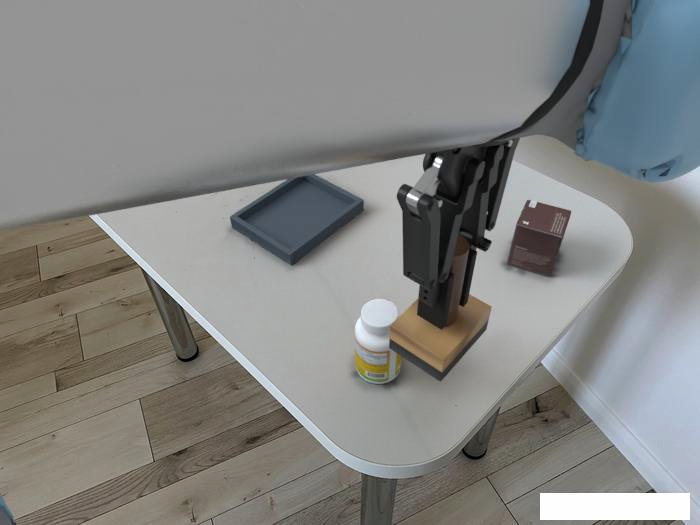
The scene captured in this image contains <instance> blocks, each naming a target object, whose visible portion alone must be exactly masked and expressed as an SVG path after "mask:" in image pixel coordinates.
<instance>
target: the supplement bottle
mask: <svg viewBox="0 0 700 525" xmlns="http://www.w3.org/2000/svg"><path fill="white" fill-rule="evenodd" d="M399 316H400V315H399V309H398V307H397V306H396V304H395V303H393V302H392V301H390V300H388V299H384V298H375V299H370V300H369V301H367V302H365V304H363V305H362V308H361V311H360V317H359V318H358V319H357V320H356V323H355V325H354V363H355V370H356V371H357V373H358V375H359V376H360V378H362V379H363V380H365V381H366V382H368V383H371V384H376V385H382V384H387V383H390V382H391V381H394V379H396V378H397V377H398V376H399V374H400V371H401V369H402V363H403V362H402V361H403V357H402V356H400V355H399V354H397V353H396V352H394V351H393V350H391V349H390V348H389V339H390V325H391V324H392V323H393V322H394V321H395V320H396V319H397V318H398V317H399Z"/></svg>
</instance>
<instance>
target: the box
mask: <svg viewBox="0 0 700 525" xmlns="http://www.w3.org/2000/svg"><path fill="white" fill-rule="evenodd" d="M571 215H572V210H570V209H567V208H564V207H559V206H554V205H550V204H547V203H543V202H539V201H536V200H531V199H527V200H526V201H525V203H524V206H523V207H522V209H521V211H520V215H519V217H518V219H517V222H516V224H515V227H514V228H515V229H514V232H513V235H512V236H513V237H512V240H511V244H510V248H509V253H508V256H507V260H506V264H507V265H509V266H512V267H515V268H518V269H523V270H526V271H529V272H533V273H535V274H539V275H542V276H546V277H550V276H551V275H552V274H553V269H554V267H555V265H556V261H557V258H558V255H559V253H560V249H561V247H562V246H561V245H562V243H563V240H564V237H565V233H566V230H567V228H568V225H569V222H570V219H571Z"/></svg>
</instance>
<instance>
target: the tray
mask: <svg viewBox="0 0 700 525" xmlns="http://www.w3.org/2000/svg"><path fill="white" fill-rule="evenodd" d="M364 201H365V200H364V199H363V198H360V197H359V196H357V195H355V194H354V193H351V192H349V191H348V190H345V189H344V188H342V187H340V186H338V185H336V184H334V183H332V182H330V181H328V180H326V179H324V178H322V177H321V176H319V175H318V174H313V175H308V176H302V177H297V178H292V179H286V180H283V182H281V183H280V184H278V185H276V186H275V187H273V188H272V189H270V190H269V191H267V192H266V193H264V194H262V195H261V196H260V197H258V198H256V199H255V200H253V201H251V202H250V203H249V204H247V205H246V206H243V207H242V208H241V209H239V210H237V211H235V212H234V213H233V214H231V215H230V216H229V219H230V220H229V221H230V224H231V228H232V229H233V230H235V231H237V232H239V233H240V234H242V235H244V236H245V237H246V238H247V239H250V240H251V241H252V242H254V243H256V244H257V245H259V246H260V247H262V248H264V249H265V250H266V251H268V252H270V253H271V254H273V255H274V256H275V257H278V258H279V259H281V260H282V261H283V262H285V263H287V264H288V265H290V266H293V265H294V264H295V263H297V262H298V261H299V260H301V259H302V258H304V256H306V255H307V254H308V253H310V252H311V251H312V250H314V249H315V248H316V247H317V246H319V245H320V244H322V243H323V242H325V241H326V240H327V239H328V238H329V237H331V236H332V235H333V234H335V233H336V232H338V231H339V230H340V229H341V228H343V227H344V226H345V225H346V224H348V223H350V222H351V221H352V220H353V219H354V218H356V217H357V216H358V215H360V214H361V213H362V212H364V206H365V205H364V204H365V203H364Z"/></svg>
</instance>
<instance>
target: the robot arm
mask: <svg viewBox="0 0 700 525" xmlns="http://www.w3.org/2000/svg"><path fill="white" fill-rule="evenodd" d="M538 135H541V136H546V137H549V138H553V139H555V140H558V141H559V142H561V143H562V144H564V145H565V146H566V147H568V148H570V149H571V150H573V151H574V154H575V155H576V156H577V157H580V158H581V159H582V160H583V161H585V162H592V161H593V162H594V161H595V162H597V163H599V164H601V165H603V166H606V167H607V168H610V169H612V170H614V171H616V172H619V173H621V174H623V175H625V176H628V177H630V178H631V179H634V180H638V181H641V182H647V183H652V184H653V183H654V184H656V183H665V182H669V181H673V180H675V179H678V178H681V177H683V176H685V175H688V174H689V173H691V172H692V171H694V170H696V169H697V168H699V167H700V0H0V233H2V232H8V231H14V230H19V229H25V228H31V227H35V226H41V225H47V224H52V223H58V222H64V221H69V220H74V219H78V218H84V217H85V218H86V217H91V216H95V215H101V214H107V213H111V212H118V211H123V210H128V209H134V208H140V207H145V206H149V205H155V204H160V203H166V202H172V201H177V200H182V199H188V198H192V197H198V196H205V195H210V194H215V193H221V192H225V191H231V190H236V189H242V188H248V187H252V186H259V185H265V184H270V183H274V182H279V181H286V180H287V179H292V178H297V177H302V176H308V175H313V174H315V175H319V174H325V173H328V172H329V173H330V172H335V171H339V170H345V169H350V168H351V169H352V168H356V167H361V166H362V167H363V166H367V165H372V164H373V165H374V164H377V163H378V164H379V163H383V162H388V161H395V160H399V159H400V160H401V159H405V158H411V157H417V156H421V155H422V156H423V155H424V156H423V159H422V169H423V172H424V173H423V174H422V175H421V176H420V178H419V179H418V180H417V182H416V184H415V185H414V186H411V185H409V184H407V183H403V184H402V185H401V186H400V187H399V188H398V190H397V192H396V200H397V202H398V205H399V206H400V209H401V212H402V214H401V216H402V221H401V222H402V274H403V276H404V277H406V278H407V279H409V280H410V281H412V282H414V283H416V284H418V285H419V287H418V296H417V297H418V298H419V300H418V309H417V315H418V316H420V317H421V318H423V319H424V320H426V321H428V322H429V323H431V324H433V325H434V326H436V327H438V328H439V329H441V330H442V329H443V328H444V327H445V326H446V324H447V318H448V311H449V305H450V299H451V293H452V287H453V281H454V274H453V273H451V272H450V267H451V262H452V258H453V254H454V250H455V246H456V242H457V237H458V235H460V236H462V237H464V238H465V239H466V240H467V241H468V243H469V246H470V247H469V253H468V259H467V264H466V270H465V275H464V281H463V287H462V292H461V298H460V303H459V305H460V306H462V307H464V306H465V305H466V304H467V302H468V297H469V294H470V293H471V292H470V291H471V286H472V281H473V276H474V270H475V267H476V266H475V265H476V260H477V256H478V251H477V249H478V250H480V251H482V252H485V253H486V252H488V250H489V249H490V247H491V245H492V242H493V241H492V240H490V239H488V237H485V235H486V231H488V232H491V231H492V230H494V228H495V226H496V224H497V221H498V215H499V213H500V208H501V204H502V201H503V197H504V194H505V189H506V186H507V182H508V179H509V175H510V171H511V167H512V163H513V159H514V157H515V156H514V155H515V152H516V151H517V150H516V149H517V147H518V145H519V142H520V140H521V138H526V137H531V136H532V137H533V136H538ZM418 298H417V299H418ZM14 518H15V517H14V515H13V513H12V511H11V510H10V508H9V507H8V505H7V504H6V501H5V499H4V496H3V494H2V493H1V492H0V525H17V522H15V520H14Z"/></svg>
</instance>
